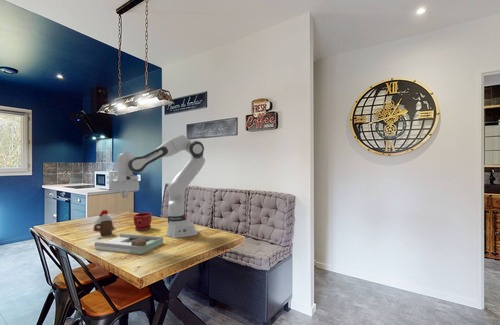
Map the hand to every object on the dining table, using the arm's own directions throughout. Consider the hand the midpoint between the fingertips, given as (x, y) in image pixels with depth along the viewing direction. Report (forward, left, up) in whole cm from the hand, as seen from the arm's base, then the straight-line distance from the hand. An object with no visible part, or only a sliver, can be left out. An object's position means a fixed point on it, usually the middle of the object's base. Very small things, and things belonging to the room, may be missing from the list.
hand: (124, 197), depth 164 cm
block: (-13, +21, -27) cm, 36 cm away
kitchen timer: (+26, -40, -30) cm, 56 cm away
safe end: (-17, +17, -29) cm, 38 cm away
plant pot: (-5, -30, -29) cm, 43 cm away
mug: (+20, -20, -29) cm, 41 cm away
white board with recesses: (-5, +11, -29) cm, 32 cm away
